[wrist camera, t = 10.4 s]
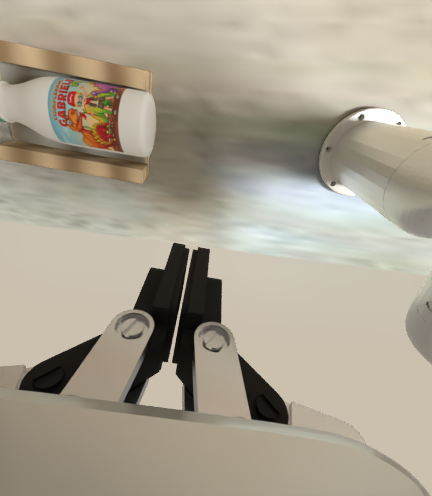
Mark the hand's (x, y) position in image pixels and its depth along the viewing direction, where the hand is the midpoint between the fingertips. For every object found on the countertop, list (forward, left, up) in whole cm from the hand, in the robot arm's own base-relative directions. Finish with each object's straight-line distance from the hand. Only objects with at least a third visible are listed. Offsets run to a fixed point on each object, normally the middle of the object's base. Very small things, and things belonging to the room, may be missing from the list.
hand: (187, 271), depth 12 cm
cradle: (+19, -1, -31) cm, 37 cm away
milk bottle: (+8, -2, -27) cm, 28 cm away
